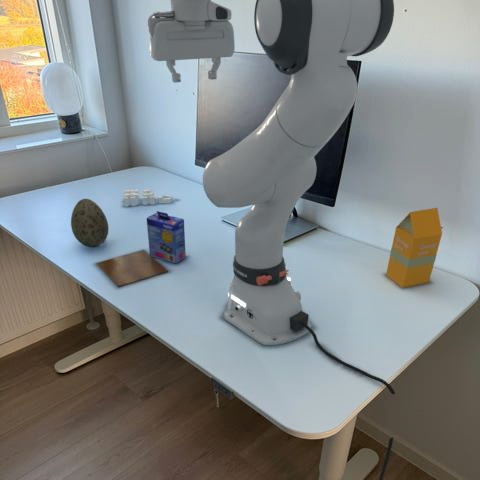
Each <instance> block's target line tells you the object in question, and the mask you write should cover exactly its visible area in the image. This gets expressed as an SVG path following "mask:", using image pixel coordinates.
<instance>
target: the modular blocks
mask: <svg viewBox="0 0 480 480" xmlns="http://www.w3.org/2000/svg"><path fill="white" fill-rule="evenodd" d="M122 193H123V195H122V200H123V205H124V207H125V208H127V207H130V206H131V207H136V206H140V194H139V189H137V188H136V189H132V190H131V189H125V190H123V192H122ZM141 196H142V205H143V206H148V205H151V206H152V205H156V201H155V192H154V189H144V190H142V193H141ZM170 196H171V195H169V194H168V195H157V198H158V200H157V201H158V204H159V205H161V204H172V202H173V200H172V197H170Z"/></svg>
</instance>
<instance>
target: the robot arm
mask: <svg viewBox="0 0 480 480" xmlns="http://www.w3.org/2000/svg"><path fill="white" fill-rule="evenodd" d="M170 10H171V11H169V10H168V11H154V12H153V13H152V14H150V15H149V17H148V19H147V29H148V32H149V55H150V57H151V58H152V60H154V61H157V62H165V65H166V68H167V69H168V70H169V72H170V74H171V81H172V83H181V81H182V78H181V77H182V75H181V73H179V72H177V71H176V69H175V67H176V61H185V60H201V59H211V63H212V66H211V69H210V70H207V78H208V80H211V81H212V80H217V78H218V75H217V73H218V69H219V68H220V65H221V61H222V60H221V58H231V57H233V56H234V53H235V46H236V45H235V31H234V26H233V24H232V22H231V19H232V16H233V15H232V9H230V8H228V7H225V6H223V5H221V4H218V3H216V2H214V1H212V0H170ZM253 14H254V15H253V22H254V23H253V25H254V30H255V31H254V32H255V34H256V38H257V40H258V43H259V44H260V46H261V48H262V50H263V51H264V53H265V55H266V57H268V59H270V60H271V61H272V62H273V65H274V68H275V69H276V70H277V71H278V72H279V73H282V74H284V75H285V76H290V80H289V83H288V85H287V87H286V88H285V89H284V91H283V92H282V94H281V95H280V97H279V98H278V100H277V101H276V103H275V104H274V106H273V107H272V109H271V110H270V111H269V113H268V115H267V116H266V118H265V119H264V120H263V122H262V123H261V124H260V125H259V126H258V127H257V128H256V129H254V130H253V131H252V132H251V133H250V134H248V135H247V136H245V138H243V139H242V140H241V141H240V142H238V143H237V144H236V145H234V146H233V147H232V148H230V149H229V150H227V151H225V152H223V153H221V154H220V155H218V156H216V157H214V158H212V159H209V161H208V162H207V164H206V165H205V168H204V170H203V174H202V187H203V191H204V194H205V196H206V197H207V199H208V200H209V201H210V202H211V203H212V204H213V205H214V206H215V207H217V208H221V209H222V208H223V209H226V208H227V209H234V208H235V209H240V208H245V207H250V206H251V207H250V209H249V211H247V213H246V214H245V215H243V216H242V217H241V218H240V219H239V221H238V222H237V224H236V227H235V229H234V230H235V231H234V250H235V253H234V256H233V261H232V268H233V278H232V281H231V282H230V285H229V289H228V293H227V296H228V301H227V309H226V310H225V311H224V313H223V319H224V320H225V321H226V322H228V323H230V324H232V325H233V326H234V327H235V328H237V329H239V330H240V331H242V332H243V333H244V334H246V335H247V336H248V337H250V338H252V339H253V340H254V341H256V342H258V343H259V344H260V345H262V346H277V345H284V344H286V343H290V342H293V341H296V340H298V339H300V338H302V337H304V336H306V334H308V333H310V334H311V336H312V337H313V340H314V343H315V345H316V346H317V348H318V349H319V350H320V351H321V352H322V353H323V354H325V356H328V357H329V358H330V359H332V360H334V361H335V362H337V363H338V364H340V365H342V366H344V367H346V368H348V369H350V370H352V371H354V372H357V373H359V374H361V375H363V376H365V377H367V378H369V379H371V380H374V381H376V382H378V383H381V384H382V385H384V386H385V387H386V388H387V389H388V391H389V392H390V394H392V395H396V392H395V391H394V389H393V387H392V386H391V384H390V383H388V382H387V381H386V380H384V379H383V378H381V377H378V376H376V375H373V374H370V373H368V372H366V371H364V370H363V369H360V368H358V367H356V366H354V365H351V364H349V363H348V362H345V361H344V360H342V359H340V358H338V357H337V356H335V355H333V354H332V353H330V352H329V351H327V350H326V349H325V348H324V347H323V346H322V344H320V342H319V339H318V337H317V334H316V332H314V330H313V329H312V322H311V321H310V320H309V313H307V312H305V311H303V306H302V303H301V299H302V295H301V293H300V291H295V289H294V287H293V286H292V281H291V279H292V278H291V277H287V276H288V275H289V273H288V272H289V269H287V268H286V262H285V258H284V255H283V254H284V245H285V244H284V243H285V236H286V229H287V225H288V223H289V219H290V217H291V215H292V213H293V211H294V209H295V207H296V205H297V204H298V202H299V200H300V199H301V198H302V197H303V195H304V194H305V193H306V192H307V191H308V190H309V189H310V188H311V187H312V186H313V184H314V182H315V180H316V176H317V162H316V159H315V157H316V155H318V154H319V152H320V151H321V150H322V149H323V148H324V147H325V145H327V144H328V142H329V141H330V140H331V139H332V138H333V136H334V135H335V134H336V133H337V132H338V130H339V128H341V126H342V124H343V123H344V122H345V120H346V118H347V117H348V115H349V114H350V112H351V110H352V108H353V106H354V104H355V102H356V100H357V98H358V97H357V96H358V92H359V91H358V90H359V88H358V87H359V85H358V81H357V76H356V75H355V72H354V71H353V70H352V68H351V66H350V65H348V57H360V56H363V55H366V54H368V53H370V52H373V51H374V50H376V49H378V48H379V47H381V45H383V43H384V42H385V41H386V39H387V38H388V36H389V34H390V32H391V30H392V27H393V22H394V17H395V3H394V0H256V1H255V5H254V12H253ZM393 441H394V436H392V437H390V438H389V439H388V444H387V450H386V454H385V457H384V460H383V465H382V469H381V471H380V475H379V478H378V480H383V479H384V476H385V473H386V470H387V467H388V463H389V459H390V455H391V452H392V447H393V443H394V442H393Z"/></svg>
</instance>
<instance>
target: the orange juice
mask: <svg viewBox="0 0 480 480" xmlns="http://www.w3.org/2000/svg"><path fill="white" fill-rule="evenodd" d="M442 235H443V230H442V226H441V220H440V215H439V209H438V207H433V208H427V209H421V210H414V211H409V213H408V214H407V215H406V216H405V217H404V219H403V220H401V222H399V224H398V225H397V226H395V230H394V234H393V239H392V245H391V249H390V253H389V259H388V264H387V268H386V273H385V276H387V277H388V279H390V280H391V281H393V282H394V283H395V284H396V285H398V286H399V287H401V288H402V289H404V288H409V287H414V286H418V285H422V284H427V283H430V280H431V276H432V272H433V269H434V265H435V262H436V258H437V254H438V250H439V247H440V243H441V241H442V240H441V239H442Z"/></svg>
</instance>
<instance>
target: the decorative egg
mask: <svg viewBox="0 0 480 480" xmlns="http://www.w3.org/2000/svg"><path fill="white" fill-rule="evenodd" d="M70 218H71V219H70V228H71V231H72V235H73V236H74V238H75V239H76V240H77V241H78V243H80V244H81V245H83V246H86V247H87V248H97V247H99V246H101V245H102V244H104V242H105V241H106V240H107V238H108V235H109V223H108V219H107V216H106V215H105V213H104V211H103V209H102V208H101V207H100V206H99V205H98V204H97V203H96V202H95V201H94V200H92V199H90V198H82V199H80V200H78V202H77V203H76V204H75V205H74V207H73V210H72V213H71V217H70Z"/></svg>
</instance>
